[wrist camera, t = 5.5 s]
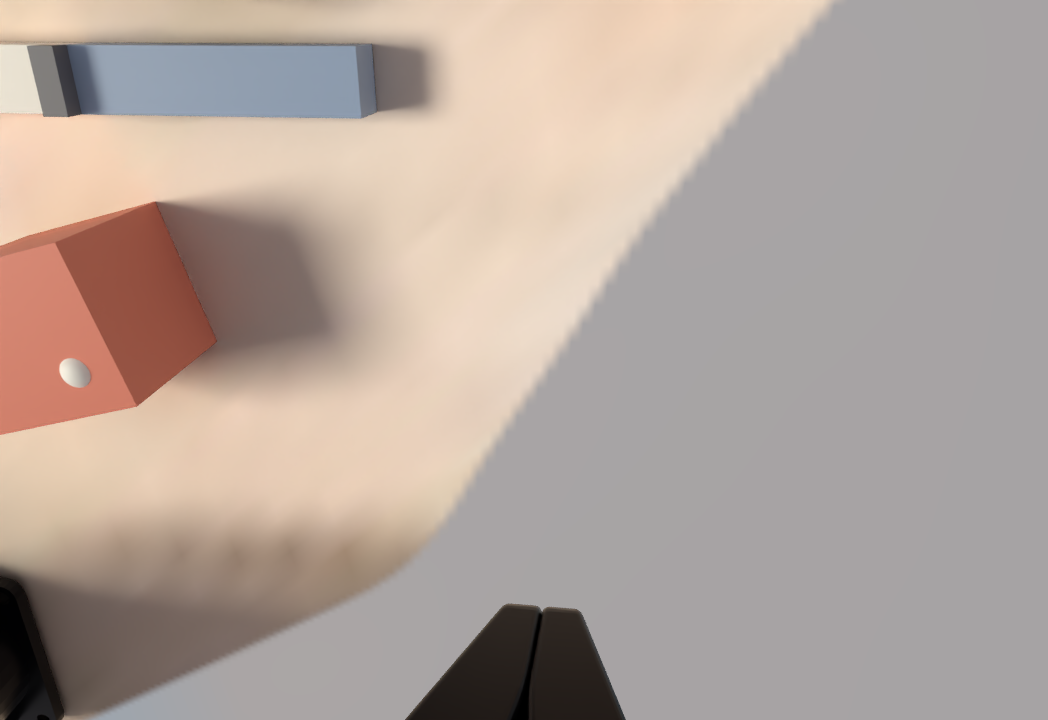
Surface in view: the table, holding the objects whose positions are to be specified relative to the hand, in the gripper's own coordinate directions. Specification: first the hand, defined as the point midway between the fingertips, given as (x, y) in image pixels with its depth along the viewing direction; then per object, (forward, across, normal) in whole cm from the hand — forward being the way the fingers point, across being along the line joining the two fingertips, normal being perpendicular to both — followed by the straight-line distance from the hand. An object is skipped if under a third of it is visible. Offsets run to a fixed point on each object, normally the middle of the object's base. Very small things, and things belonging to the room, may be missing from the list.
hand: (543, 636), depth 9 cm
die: (+12, +13, +1) cm, 18 cm away
